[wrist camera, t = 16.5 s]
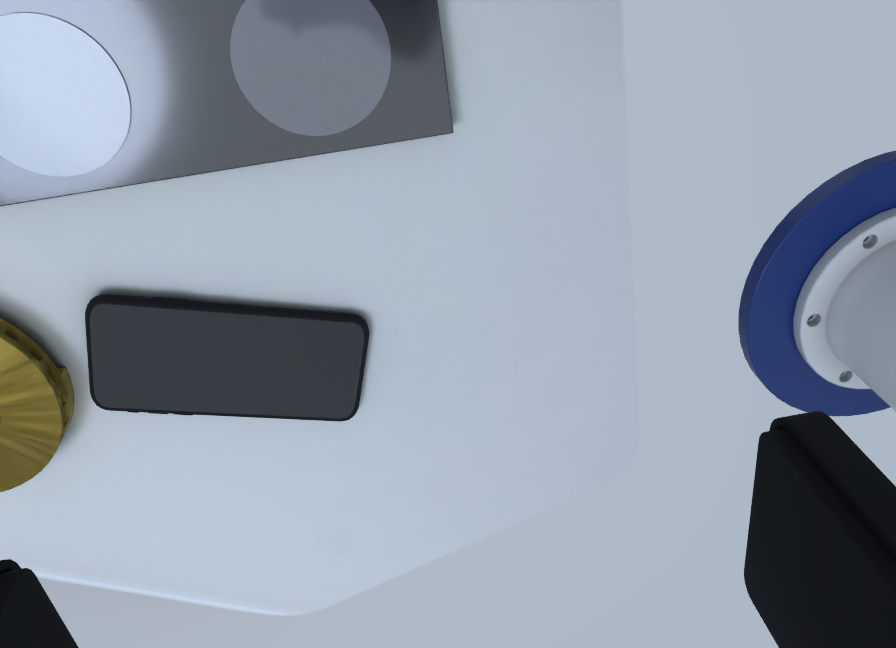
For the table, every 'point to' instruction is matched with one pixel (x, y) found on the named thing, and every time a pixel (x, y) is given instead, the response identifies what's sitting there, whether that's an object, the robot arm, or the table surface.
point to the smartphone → (224, 359)
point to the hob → (206, 86)
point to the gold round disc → (29, 407)
